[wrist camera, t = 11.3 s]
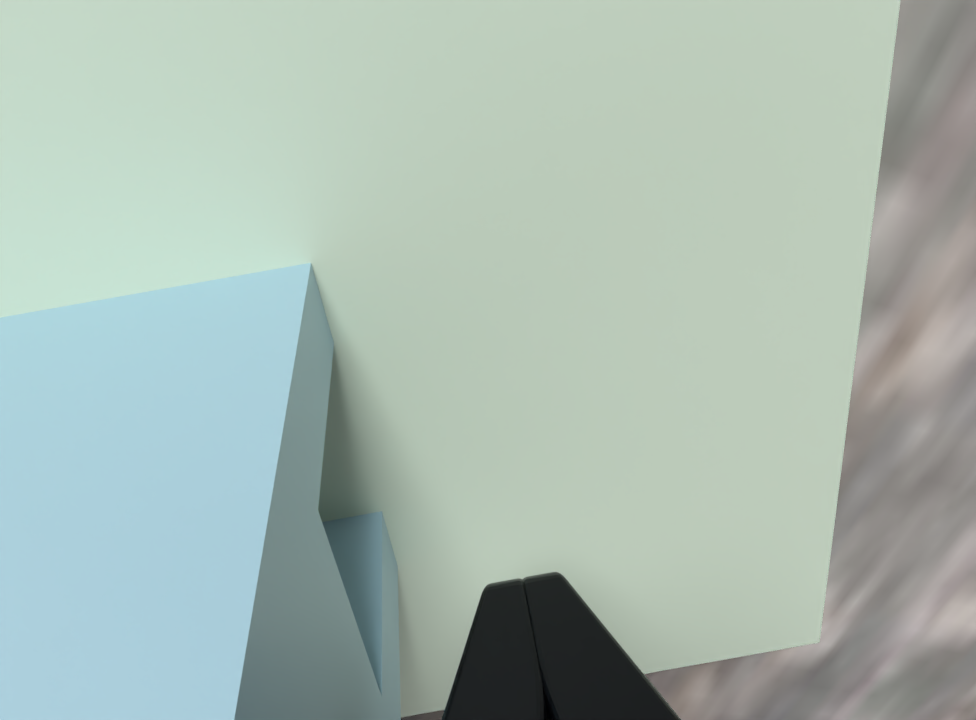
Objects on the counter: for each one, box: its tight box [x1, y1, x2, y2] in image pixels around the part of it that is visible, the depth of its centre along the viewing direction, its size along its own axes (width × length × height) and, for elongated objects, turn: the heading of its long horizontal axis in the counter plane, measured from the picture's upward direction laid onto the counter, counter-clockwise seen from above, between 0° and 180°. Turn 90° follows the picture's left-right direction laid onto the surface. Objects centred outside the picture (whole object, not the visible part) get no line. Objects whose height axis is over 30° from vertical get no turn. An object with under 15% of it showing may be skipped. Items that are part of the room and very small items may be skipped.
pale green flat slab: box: [0, 0, 900, 717], centre depth 10 cm, size 20×12×4 cm, turn 98°
